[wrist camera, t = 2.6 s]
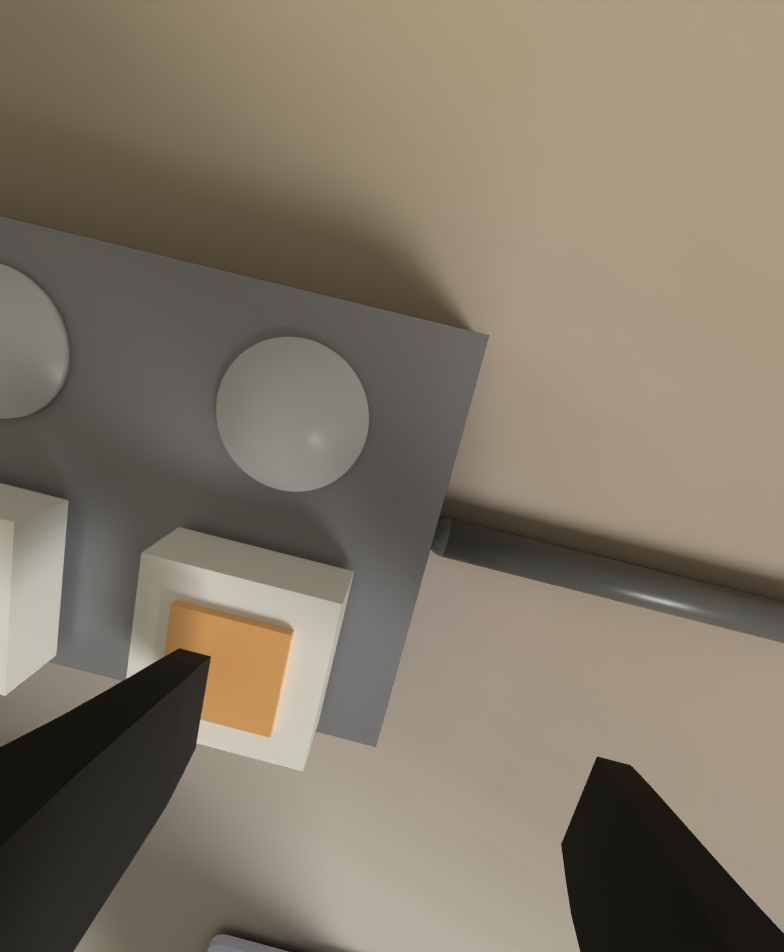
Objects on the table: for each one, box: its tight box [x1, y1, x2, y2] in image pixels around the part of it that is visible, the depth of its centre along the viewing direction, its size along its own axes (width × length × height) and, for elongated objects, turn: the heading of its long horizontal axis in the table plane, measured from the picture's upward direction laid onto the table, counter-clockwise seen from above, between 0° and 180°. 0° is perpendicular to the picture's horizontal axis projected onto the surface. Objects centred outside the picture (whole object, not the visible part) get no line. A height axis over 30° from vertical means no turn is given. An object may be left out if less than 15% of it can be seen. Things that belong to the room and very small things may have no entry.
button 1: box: [126, 527, 354, 771], centre depth 11 cm, size 4×4×2 cm
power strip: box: [0, 216, 784, 747], centre depth 12 cm, size 10×31×3 cm, turn 77°
